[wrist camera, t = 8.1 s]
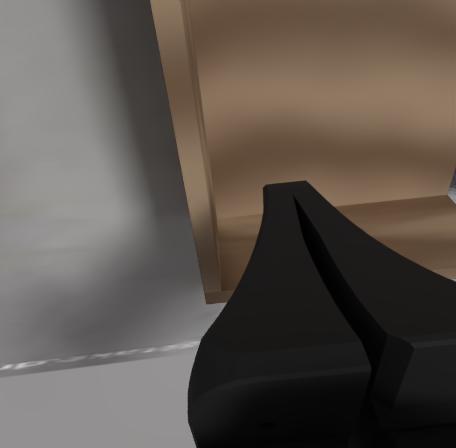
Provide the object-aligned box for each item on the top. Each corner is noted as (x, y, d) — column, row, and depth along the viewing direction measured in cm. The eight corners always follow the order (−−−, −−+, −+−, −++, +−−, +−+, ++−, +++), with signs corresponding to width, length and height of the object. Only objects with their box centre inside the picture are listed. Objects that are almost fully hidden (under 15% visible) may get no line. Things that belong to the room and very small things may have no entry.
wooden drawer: (431, 191, 24) (501, 274, 18) (204, 215, 24) (206, 304, 18) (598, -378, 11) (973, -653, 6) (121, -323, 11) (48, -544, 6)
